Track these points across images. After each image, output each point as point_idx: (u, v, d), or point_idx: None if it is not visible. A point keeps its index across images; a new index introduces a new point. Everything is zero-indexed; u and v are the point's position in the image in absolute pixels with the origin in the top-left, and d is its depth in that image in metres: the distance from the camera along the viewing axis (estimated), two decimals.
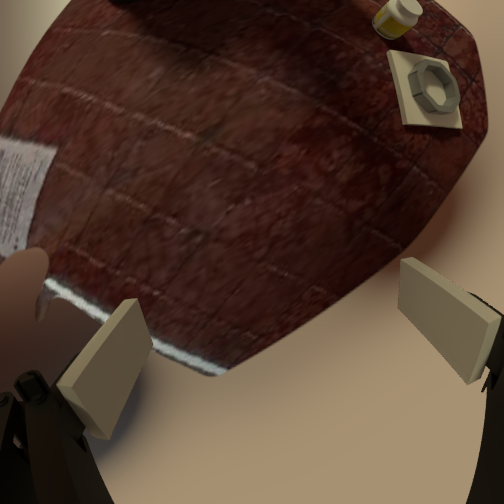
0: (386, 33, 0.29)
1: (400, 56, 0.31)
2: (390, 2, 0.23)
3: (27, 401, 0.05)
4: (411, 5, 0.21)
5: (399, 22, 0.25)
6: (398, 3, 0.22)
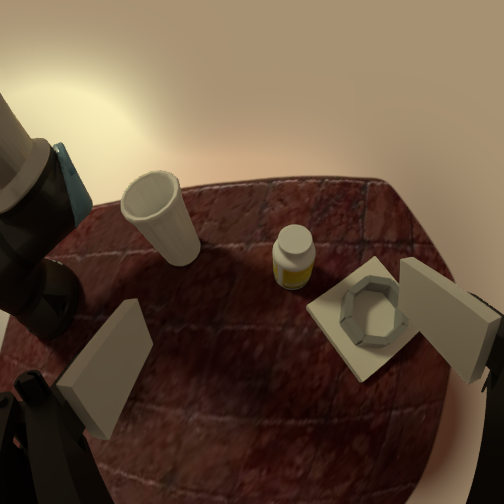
0: (294, 286, 0.37)
1: (321, 304, 0.36)
2: (274, 250, 0.34)
3: (27, 401, 0.05)
4: (295, 240, 0.32)
5: (296, 272, 0.33)
6: (281, 249, 0.32)
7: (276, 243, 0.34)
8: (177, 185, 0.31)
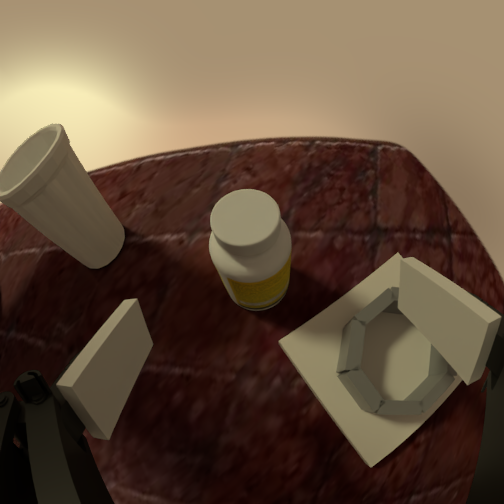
0: (258, 305, 0.21)
1: (304, 338, 0.20)
2: (210, 241, 0.18)
3: (27, 401, 0.05)
4: (244, 218, 0.15)
5: (251, 283, 0.17)
6: (216, 238, 0.16)
7: None
8: (57, 138, 0.15)
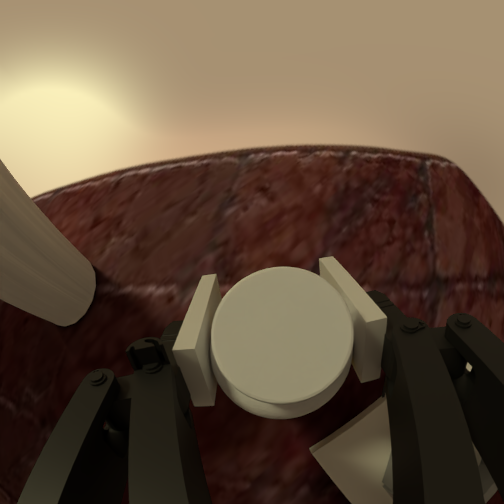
0: None
1: (347, 448, 0.12)
2: None
3: (137, 369, 0.07)
4: (284, 341, 0.07)
5: None
6: None
7: None
8: None
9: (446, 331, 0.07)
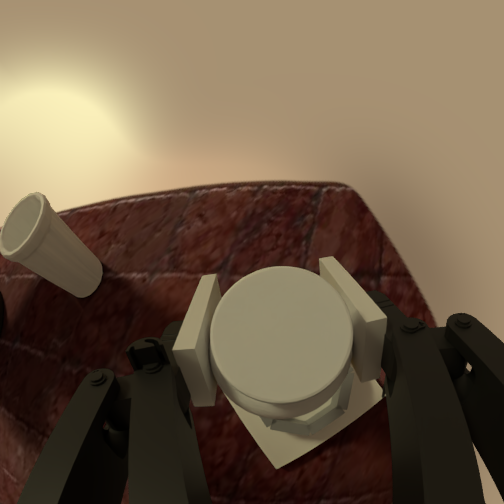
0: None
1: None
2: (212, 350, 0.09)
3: (137, 369, 0.07)
4: (283, 341, 0.07)
5: None
6: None
7: None
8: (41, 212, 0.21)
9: (445, 331, 0.07)
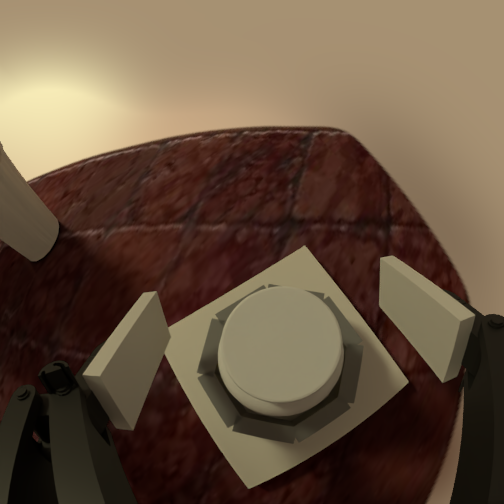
0: None
1: (180, 335, 0.19)
2: (220, 356, 0.11)
3: (51, 392, 0.06)
4: (282, 350, 0.08)
5: None
6: None
7: None
8: None
9: None
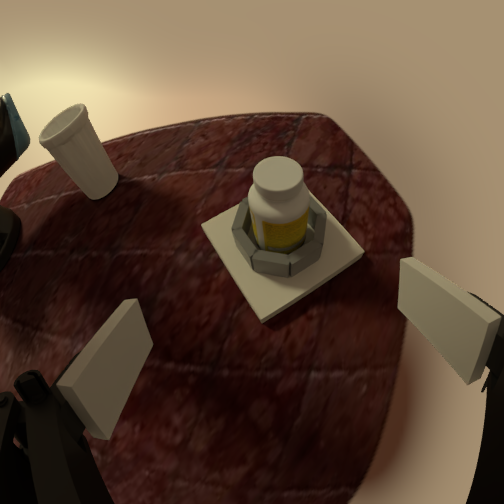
0: (282, 251, 0.27)
1: (217, 223, 0.31)
2: (250, 194, 0.23)
3: (27, 401, 0.05)
4: (278, 174, 0.21)
5: (281, 224, 0.23)
6: (257, 188, 0.22)
7: (253, 185, 0.24)
8: (82, 110, 0.27)
9: None
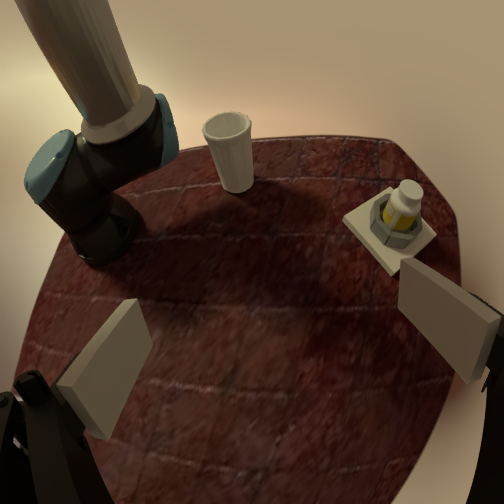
0: None
1: (354, 215, 0.45)
2: (393, 199, 0.38)
3: (27, 401, 0.05)
4: (412, 190, 0.35)
5: (410, 216, 0.37)
6: (402, 197, 0.36)
7: (394, 194, 0.38)
8: (249, 119, 0.41)
9: None
